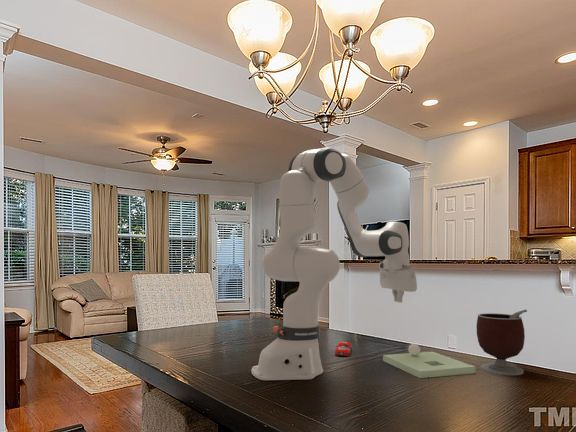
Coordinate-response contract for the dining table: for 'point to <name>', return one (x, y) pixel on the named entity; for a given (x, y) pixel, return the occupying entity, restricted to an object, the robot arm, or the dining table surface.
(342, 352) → the race car
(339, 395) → the dining table surface
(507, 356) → the mate gourd
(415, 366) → the mat
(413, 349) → the ball
